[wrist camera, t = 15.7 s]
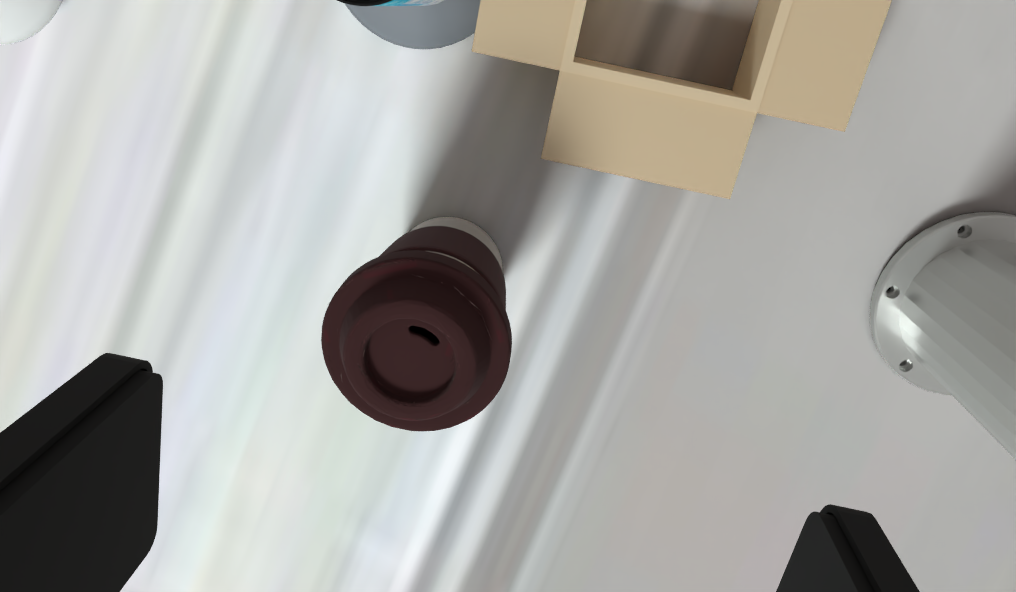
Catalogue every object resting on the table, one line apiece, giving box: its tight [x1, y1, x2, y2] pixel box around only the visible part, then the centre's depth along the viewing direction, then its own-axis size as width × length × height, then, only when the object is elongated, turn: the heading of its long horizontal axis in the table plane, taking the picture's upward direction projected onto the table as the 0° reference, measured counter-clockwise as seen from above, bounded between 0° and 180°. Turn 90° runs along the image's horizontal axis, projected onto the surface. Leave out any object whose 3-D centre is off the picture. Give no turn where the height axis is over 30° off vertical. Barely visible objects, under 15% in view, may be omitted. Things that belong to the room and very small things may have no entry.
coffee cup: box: [321, 217, 512, 431], centre depth 46 cm, size 10×10×15 cm
